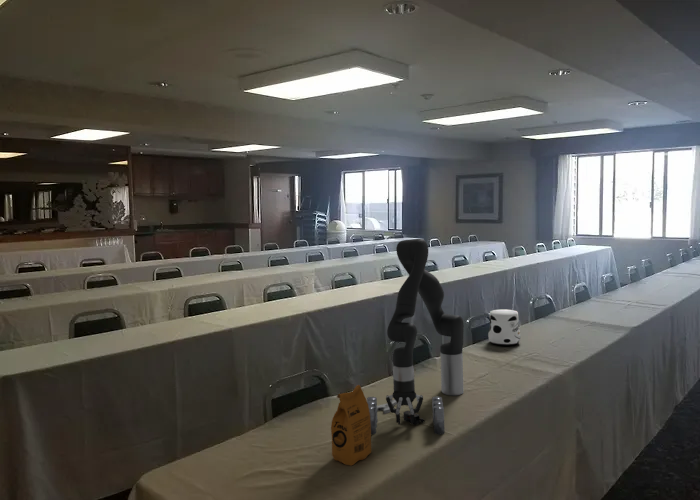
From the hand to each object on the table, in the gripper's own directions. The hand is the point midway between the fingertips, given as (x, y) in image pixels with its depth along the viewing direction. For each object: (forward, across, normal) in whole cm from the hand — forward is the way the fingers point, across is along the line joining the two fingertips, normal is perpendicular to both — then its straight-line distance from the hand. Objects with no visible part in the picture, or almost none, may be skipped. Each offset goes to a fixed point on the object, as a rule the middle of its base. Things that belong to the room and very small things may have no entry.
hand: (405, 423), depth 189 cm
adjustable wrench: (+2, +3, -22) cm, 23 cm away
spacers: (+1, 0, +1) cm, 1 cm away
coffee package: (+2, +17, +23) cm, 29 cm away
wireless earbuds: (+1, -3, -4) cm, 5 cm away
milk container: (0, -56, -111) cm, 125 cm away
